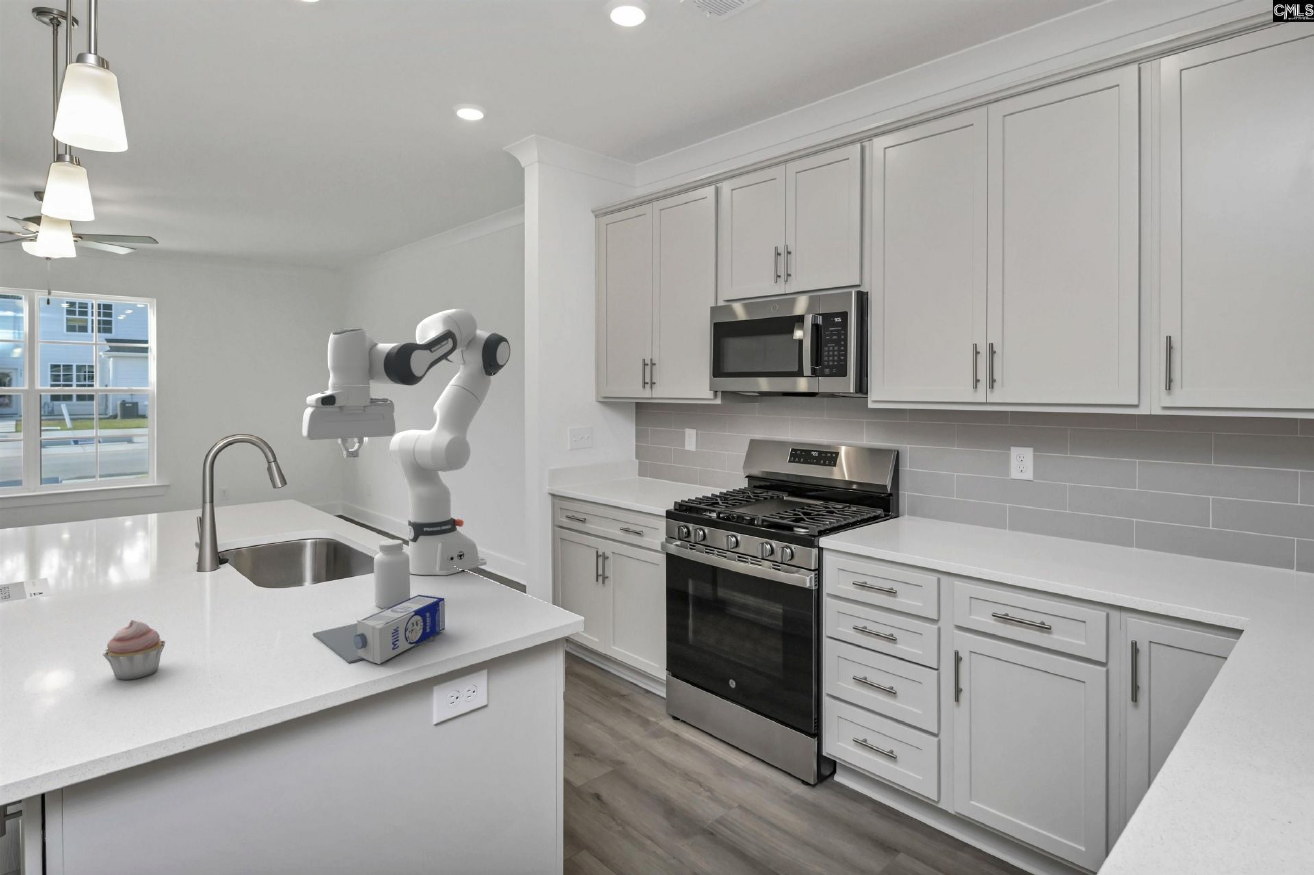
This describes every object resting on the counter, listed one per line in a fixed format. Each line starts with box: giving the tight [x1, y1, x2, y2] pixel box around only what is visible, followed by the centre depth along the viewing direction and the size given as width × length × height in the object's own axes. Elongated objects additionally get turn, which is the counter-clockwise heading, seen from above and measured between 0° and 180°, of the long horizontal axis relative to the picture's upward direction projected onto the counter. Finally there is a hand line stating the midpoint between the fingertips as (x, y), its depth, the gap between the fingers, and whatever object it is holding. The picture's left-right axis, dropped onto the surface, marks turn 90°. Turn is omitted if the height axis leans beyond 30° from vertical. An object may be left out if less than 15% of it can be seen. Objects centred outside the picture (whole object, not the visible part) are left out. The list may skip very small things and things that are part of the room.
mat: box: [312, 622, 434, 664], centre depth 148 cm, size 17×20×1 cm
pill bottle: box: [373, 539, 411, 609], centre depth 170 cm, size 8×8×15 cm
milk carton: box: [354, 594, 446, 665], centre depth 144 cm, size 7×7×20 cm
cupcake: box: [102, 619, 167, 681], centre depth 129 cm, size 9×9×10 cm
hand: (351, 457), depth 166 cm, fingers closed
